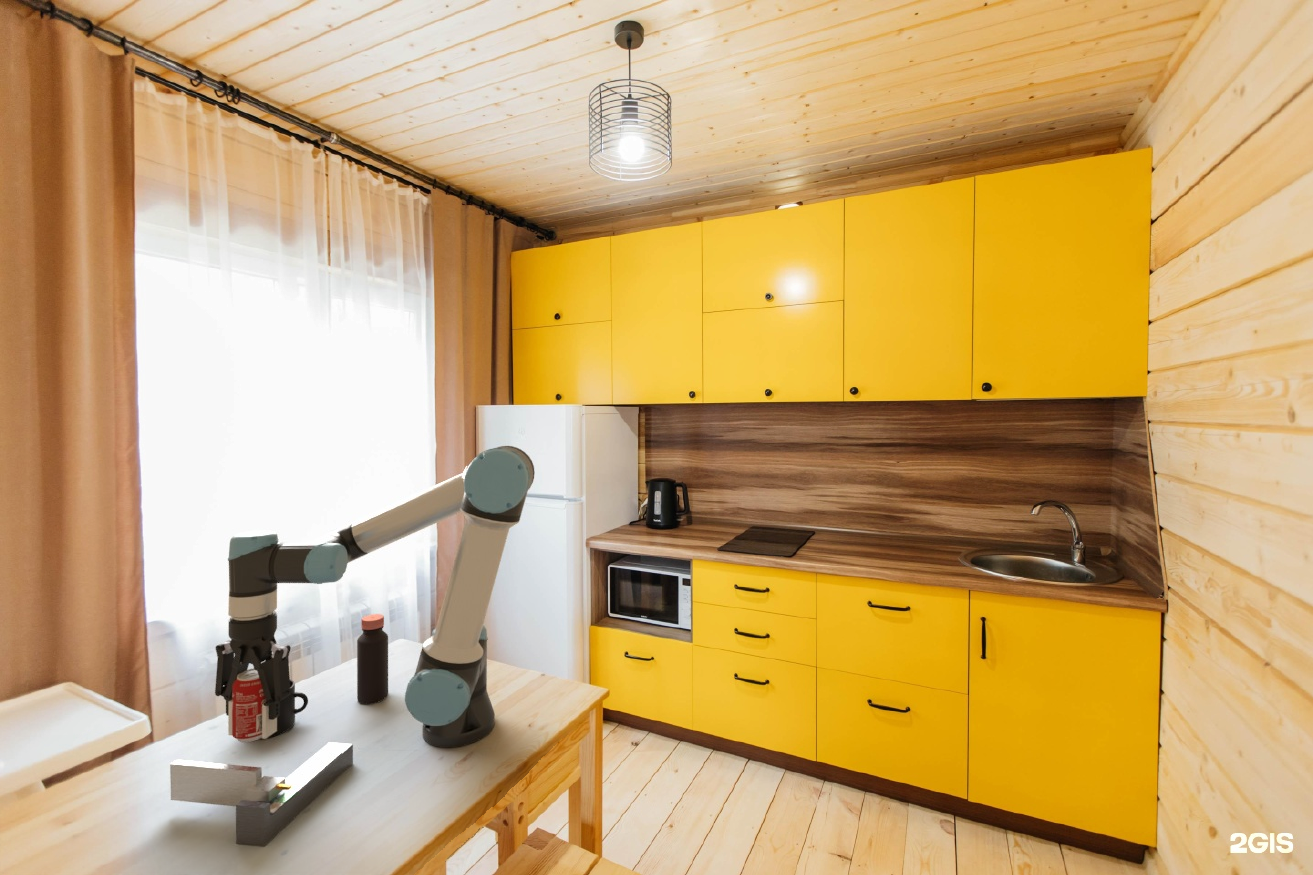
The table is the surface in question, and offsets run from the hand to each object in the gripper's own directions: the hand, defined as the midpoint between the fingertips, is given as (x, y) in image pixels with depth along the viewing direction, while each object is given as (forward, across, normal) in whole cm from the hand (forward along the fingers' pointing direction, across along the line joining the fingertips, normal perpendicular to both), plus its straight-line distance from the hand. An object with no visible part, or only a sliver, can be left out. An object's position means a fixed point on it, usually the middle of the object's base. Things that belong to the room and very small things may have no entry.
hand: (252, 732), depth 108 cm
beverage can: (+1, 0, 0) cm, 1 cm away
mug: (+9, +9, -16) cm, 20 cm away
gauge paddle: (+6, -5, +10) cm, 13 cm away
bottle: (+9, -4, -31) cm, 33 cm away
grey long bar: (+8, -14, +5) cm, 17 cm away
